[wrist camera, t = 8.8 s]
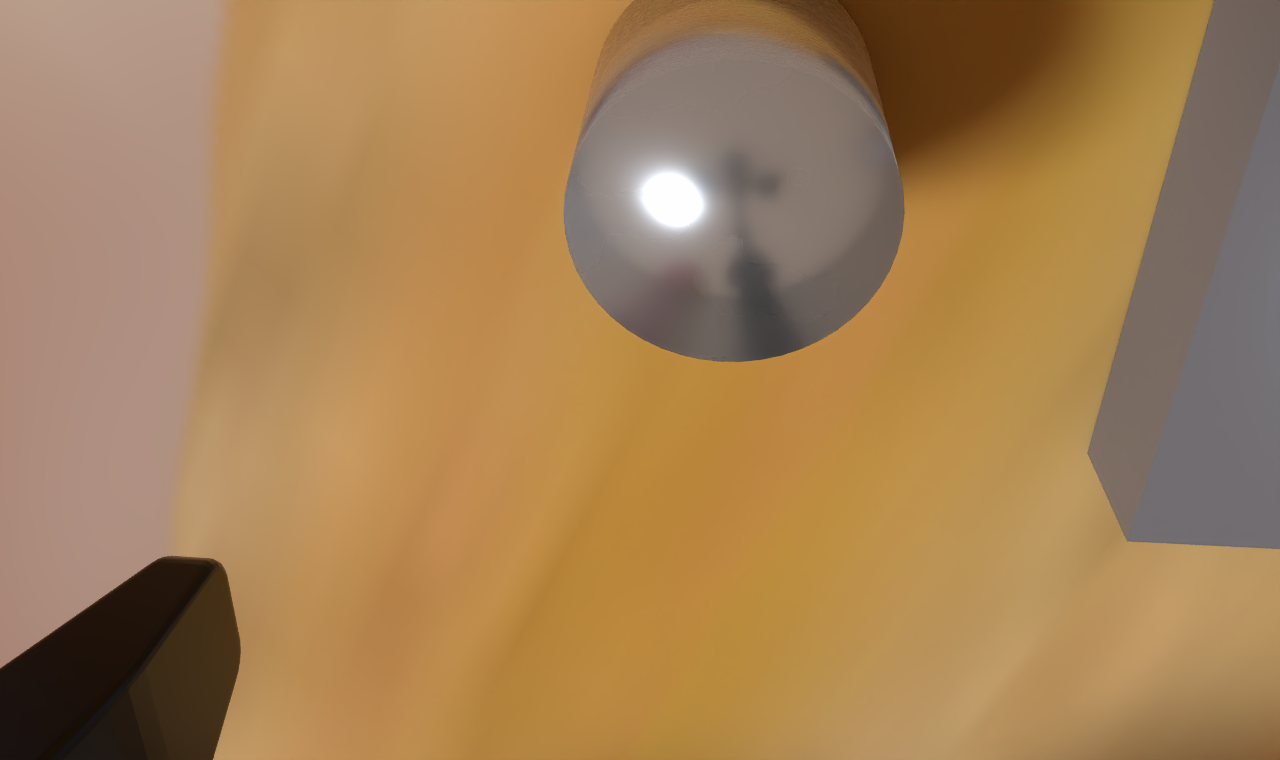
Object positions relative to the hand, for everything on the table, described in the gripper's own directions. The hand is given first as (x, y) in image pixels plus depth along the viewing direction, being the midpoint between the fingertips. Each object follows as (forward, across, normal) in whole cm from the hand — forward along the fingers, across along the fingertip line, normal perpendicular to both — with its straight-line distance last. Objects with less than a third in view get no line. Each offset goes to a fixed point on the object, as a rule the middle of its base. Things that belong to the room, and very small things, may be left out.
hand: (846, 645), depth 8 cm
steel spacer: (+12, +1, 0) cm, 12 cm away
